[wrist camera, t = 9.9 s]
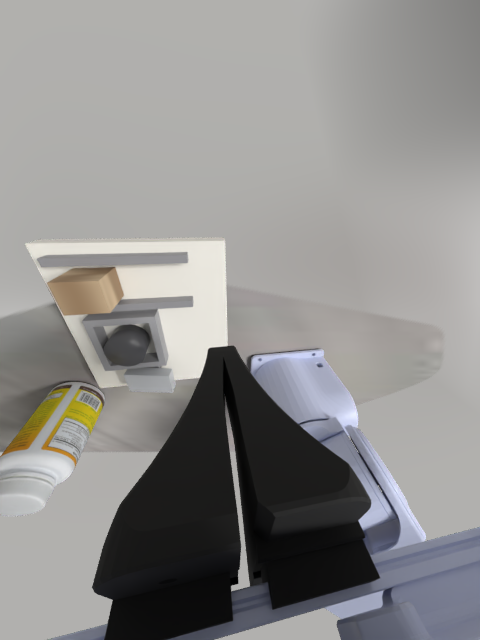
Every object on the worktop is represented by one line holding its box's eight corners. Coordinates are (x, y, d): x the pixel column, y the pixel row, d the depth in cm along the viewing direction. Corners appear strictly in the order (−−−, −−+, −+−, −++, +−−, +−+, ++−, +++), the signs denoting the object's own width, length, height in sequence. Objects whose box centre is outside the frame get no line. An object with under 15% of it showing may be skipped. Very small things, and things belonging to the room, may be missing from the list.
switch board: (223, 237, 17) (226, 244, 15) (227, 365, 25) (229, 383, 23) (39, 239, 15) (8, 247, 13) (105, 377, 23) (94, 399, 21)
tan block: (115, 267, 16) (98, 280, 13) (124, 295, 17) (110, 312, 14) (72, 268, 15) (46, 282, 13) (85, 297, 16) (63, 315, 14)
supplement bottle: (51, 406, 24) (-33, 522, 16) (53, 374, 22) (-44, 490, 13) (103, 412, 26) (54, 519, 18) (110, 384, 24) (58, 491, 15)
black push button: (146, 323, 18) (140, 336, 17) (153, 350, 20) (148, 364, 18) (107, 325, 18) (98, 339, 16) (118, 353, 19) (110, 368, 18)
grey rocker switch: (172, 368, 20) (168, 376, 19) (175, 384, 21) (172, 392, 21) (128, 367, 20) (123, 374, 19) (134, 383, 21) (130, 391, 21)
